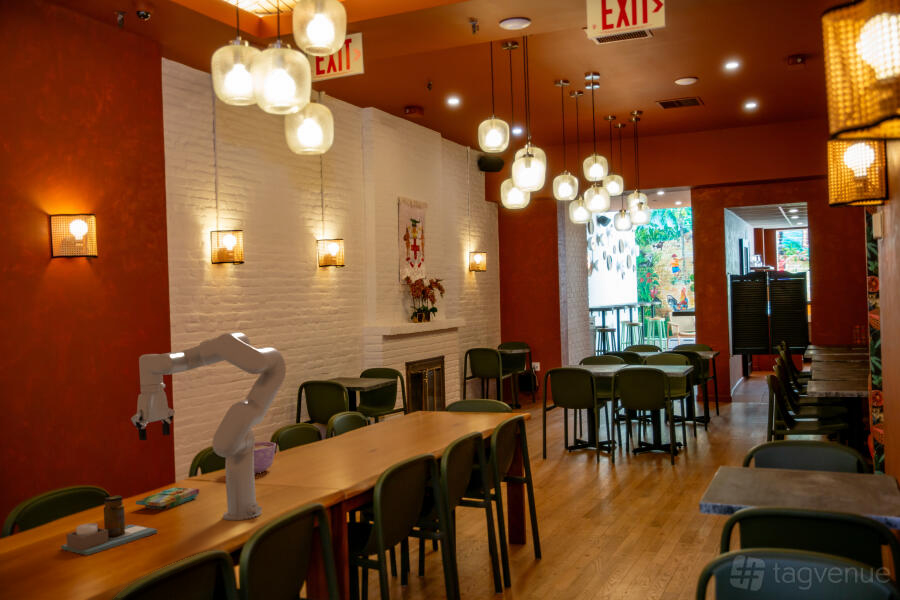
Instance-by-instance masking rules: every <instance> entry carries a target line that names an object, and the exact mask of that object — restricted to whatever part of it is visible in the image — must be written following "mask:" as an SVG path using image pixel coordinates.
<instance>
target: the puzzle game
mask: <svg viewBox="0 0 900 600" xmlns="http://www.w3.org/2000/svg"><path fill="white" fill-rule="evenodd" d="M199 493H200V488H190V487H189V488H188V487H171V488H169V489H165V490H162V491H160V492H157V493H154V494H152V495H149V496H146V497H144V498H140V499H138V500H135V505H137V506H144V507H145V508H146V509H155V508H157V510H158V509H159V510H168V508H169V509H170V508H174V507H176V505H177V506H180V505H182V504H185V503H187V501H188V502H190V501H192V499H193V500H196V498H197V497H198V496H199ZM184 502H185V503H184ZM179 504H180V505H179Z"/></svg>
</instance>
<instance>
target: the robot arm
mask: <svg viewBox="0 0 900 600" xmlns="http://www.w3.org/2000/svg"><path fill="white" fill-rule="evenodd" d="M250 343H251V341H250V339H249V337H248V335H246V334H244V333H243V332H240V331H234V332H233V331H232V332H225V333H221V334H220V335H219V336H217V337H214V338H210V339H205V340H203V341H201V342H200V343H199V345H196V346H193V347H190V348H187V349H184V350H179V351H173V352H171V351H170V352H166V353H161V354H160V353H159V354H158V353H150V354H149V353H147V354H142V355H141V356H139V358H138V362H139V363H138V365H139V368H138V369H139V383H140V384H139V385H140V394H138V398H137V403H136V404H137V406H136V407H137V408H136V413H135V414H134V415H133V416H132V417H130V420H131V421H132V423H133V426H134V427H136V429H138V430H137V431H138V439H139V441H147V439H148V438H147V428H146V426H147V424H148V423H153V422H159V421H161V422H162V424H161V429H162V430H161V431H162V436H170V435H171V428H170V427H171V426H170V425H171V423H172V420H173V419H174V416H175V413H176V411H175V409H172V408H171V407H169V405H168V399H167V398H168V397H167V394H166V392H165V390H164V389H165V388H166V384H165V383H164V376H167V375H174V374H179V373H184V372H187V371H191V370H194V369H197V368H200V367H203V366H204V367H205V366H210V365H214V364H217V363H219V362H223V361H226V362H227V363H230V364H231V365H233V366H235V367H236V368H239V369H240V370H242V371H243V372H246V373H248V374H252V375H259V376H258V377H257V379H256V380H255V381H254V383H253V385H251V389H250V391H249V392H248V394H247V395H246V397H245V398H244V399H241V400H239V401H237V402H235V403H233V404H232V405H231V406H230V407H229V409H227V411H226V413H225V414H224V416H223V419H222V420H221V422H220V424H219V425H218V427H217V430H216V431H215V432H214V435H213V438H212V449H213V451H214V453H215V454H216V455H218V456H219V457H222V458H225V463H224V464H225V466H224V467H225V468H224V469H225V486H226V507H227V511H225V512H224V513H223V514H222V517H223V520H227V521H243V519H245V520H249V519H248V518H250V519H253V518H256V517H258V516H260V515H261V514H262V510H263V507H262V506H258V505H259V504H258V503H259V502H258V501H257V499H256V485H255V484H256V483H255V482H256V481H255V474H254V446H255V442H256V438H255V432H254V431H253V429H252V427H255V426H257V425H259V424H260V423H261V422H263V420H264V419H265V417H266V414H267V412H268V411H269V409H270V408H271V405H272V404H273V402H274V400H275V398H276V396H277V394H278V392H279V390H280V389H281V387H282V384H283V383H284V381H285V378H286V374H287V373H286V372H287V366H286V365H287V364H286V362H285V361H286V360H285V358H284V356H283V355H282V353H281V352H280V351H279V350H277V349H276V348H275V347H274V348H273V347H271V346H264V347H258V348H255V347H253V346H252V345H251V344H250ZM163 375H164V376H163ZM255 516H256V517H255ZM252 517H253V518H252Z"/></svg>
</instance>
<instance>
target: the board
mask: <svg viewBox="0 0 900 600" xmlns="http://www.w3.org/2000/svg"><path fill="white" fill-rule="evenodd" d="M125 531H126V532H129V533H132V534H131V535H128V536H124V537H120V538H116V539H108V530H106V529H104V528H102V527H98V532H97V533H93V534H90V535H87V536H83V537H82V536H78V535H77V534H76V531H72V532H69V533H66V543H65V544H63V545H61V546H60V548H61V549H64V550H63V551H66V550H68V551H67V552H70V551H72V552H71V553H74V552H76V553H75V554H78V553H81V554H80V555H82V554H85V555H84V556H86V555H88V556H90V555H89V554H91V555H93V554H92V553H94V554H96V553H95V552H97V553H100V552H103V551H102V550H104V551H106V550H105V549H107V550H109V548H110V549H113V548H116V547H118V546H121V545H124V544H128V543H131V542H133V540H134V541H137V540H140V539H143V538H146V536H147V537H149V535H150V536H152V535H151V534H153V535H155V534H154V533H156V534H158V529H157V528H153V527H152V528H151V527H145V526H142V525H138V524H137V525H136V524H127V525H125ZM142 537H143V538H142ZM139 538H140V539H139ZM130 541H131V542H130ZM127 542H128V543H127ZM115 546H116V547H115ZM112 547H113V548H112ZM99 551H100V552H99Z"/></svg>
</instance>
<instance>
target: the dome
mask: <svg viewBox="0 0 900 600" xmlns="http://www.w3.org/2000/svg"><path fill="white" fill-rule="evenodd" d="M98 528H99V525H98V523H97V522H90V523H84V524H80V525H77V526H76V527H75V532H76V534H77V535H78V536H82V537H83V536H87V535H90V534H93V533H97V532H98Z"/></svg>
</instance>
